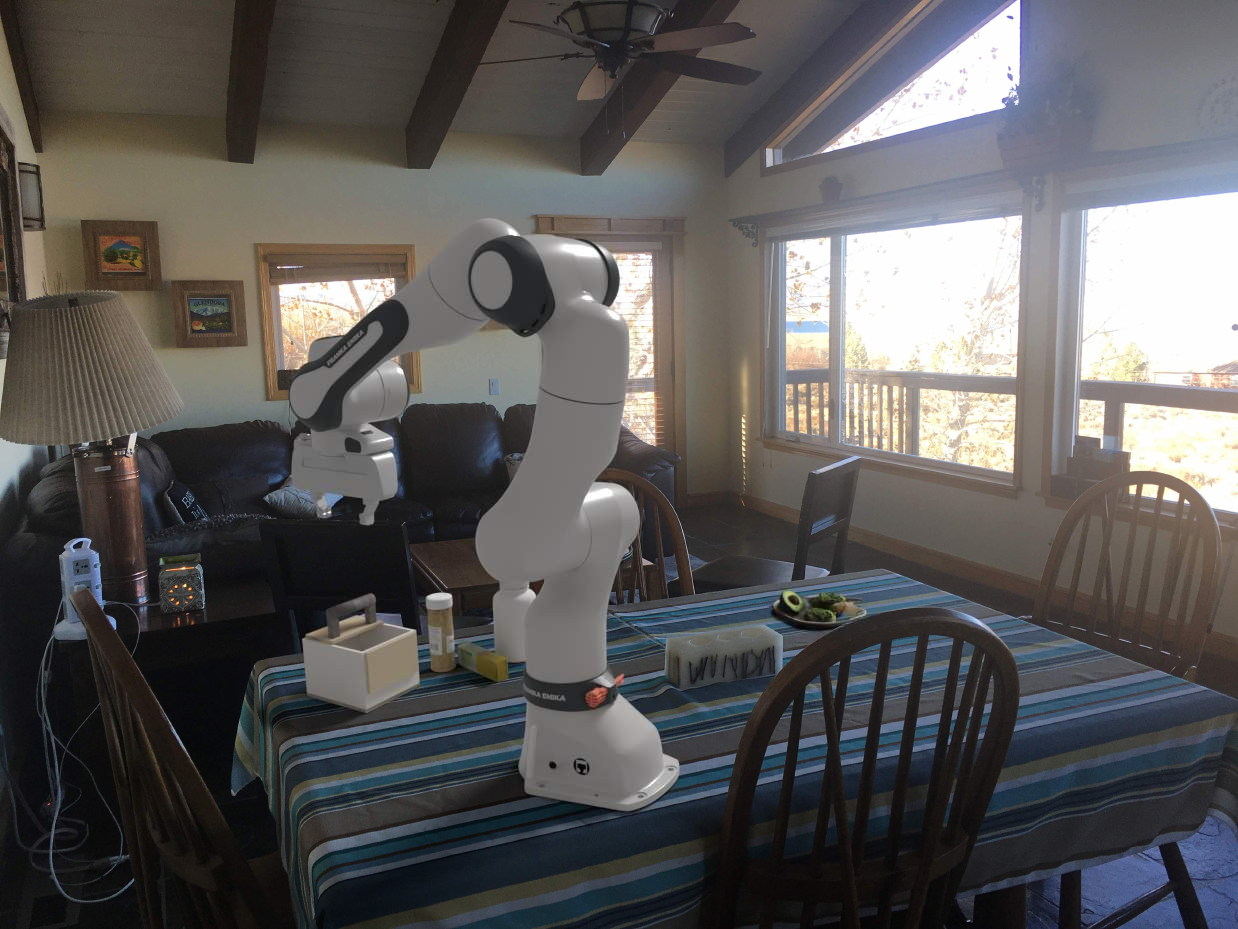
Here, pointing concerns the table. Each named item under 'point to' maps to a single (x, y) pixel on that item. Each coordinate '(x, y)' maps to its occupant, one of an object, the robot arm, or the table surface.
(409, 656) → the carton
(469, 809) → the table surface
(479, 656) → the medication box
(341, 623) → the flap
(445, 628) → the sprinkles bottle
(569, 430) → the robot arm
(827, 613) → the salad plate
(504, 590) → the pill bottle
